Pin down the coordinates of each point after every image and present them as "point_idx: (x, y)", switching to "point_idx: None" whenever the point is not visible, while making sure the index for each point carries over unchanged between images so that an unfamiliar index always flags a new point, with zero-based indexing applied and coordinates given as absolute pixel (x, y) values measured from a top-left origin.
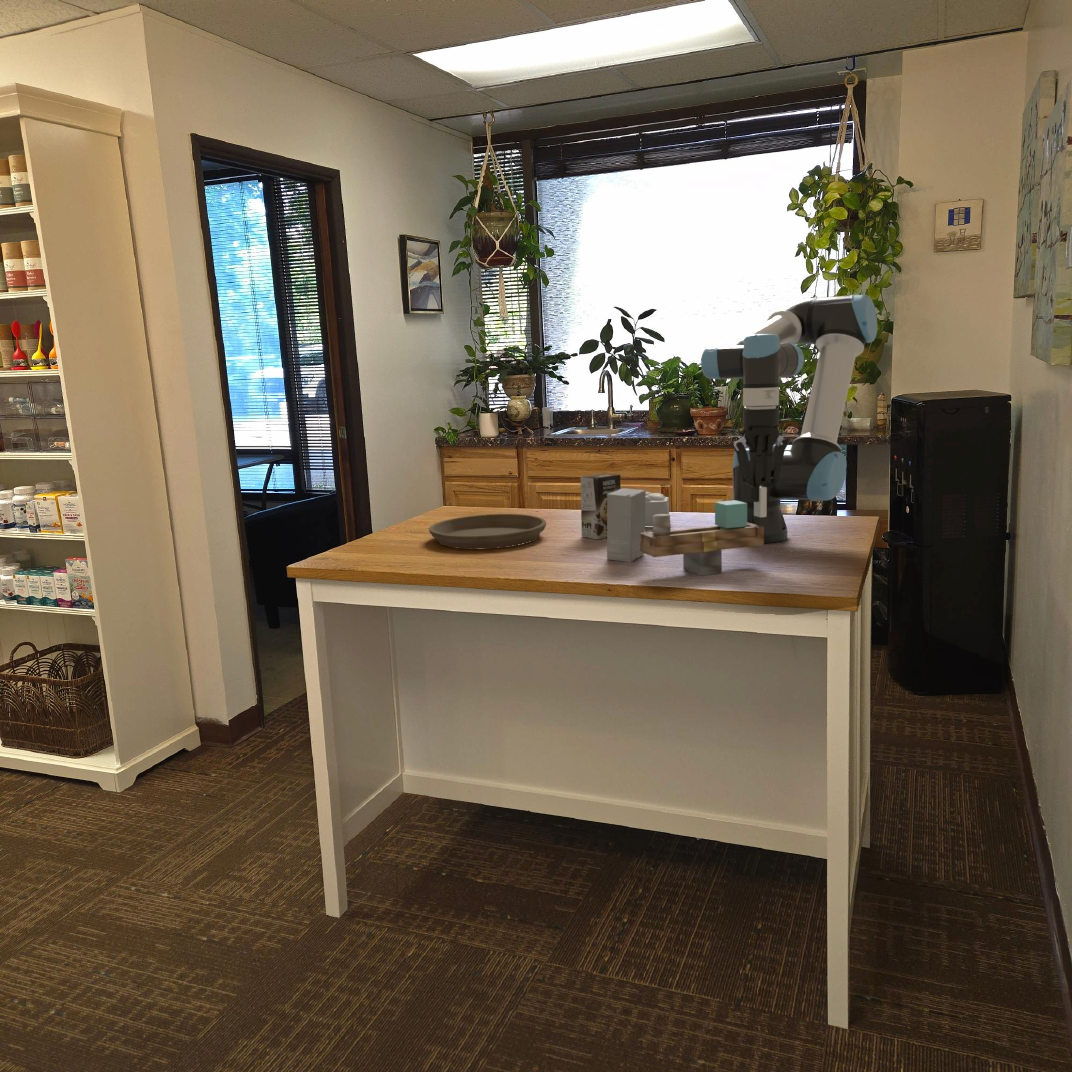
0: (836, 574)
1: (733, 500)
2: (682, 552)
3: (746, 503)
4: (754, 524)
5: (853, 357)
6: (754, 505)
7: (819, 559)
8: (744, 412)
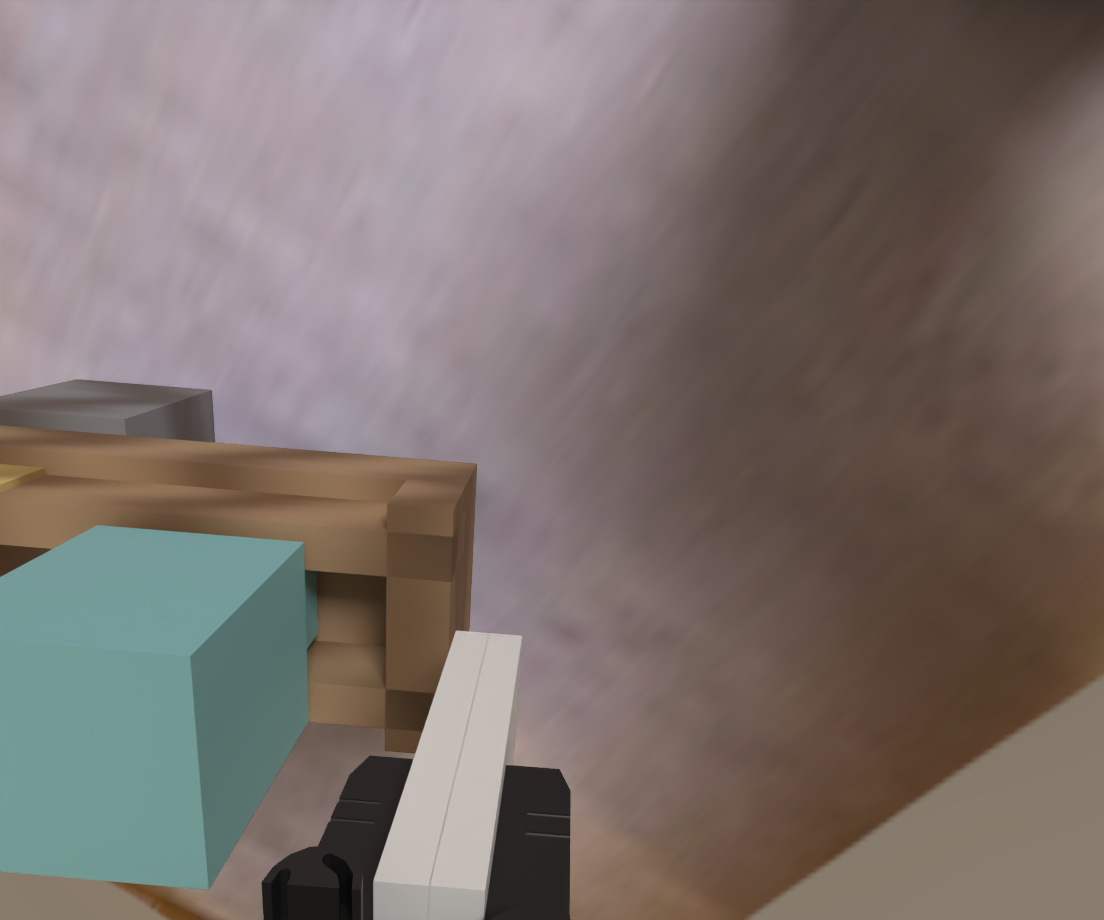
0: (696, 866)
1: (159, 662)
2: None
3: (201, 886)
4: (442, 637)
5: None
6: (435, 701)
7: (881, 595)
8: None
